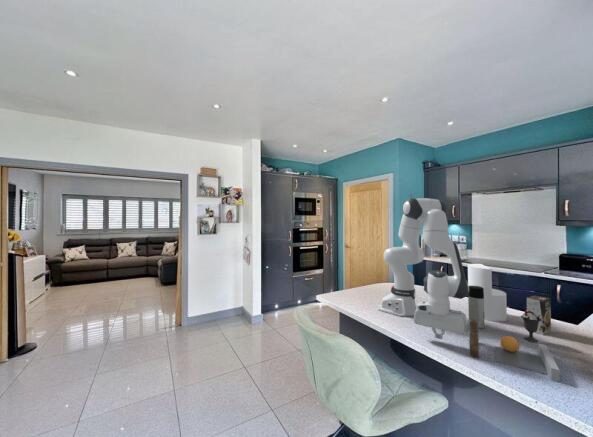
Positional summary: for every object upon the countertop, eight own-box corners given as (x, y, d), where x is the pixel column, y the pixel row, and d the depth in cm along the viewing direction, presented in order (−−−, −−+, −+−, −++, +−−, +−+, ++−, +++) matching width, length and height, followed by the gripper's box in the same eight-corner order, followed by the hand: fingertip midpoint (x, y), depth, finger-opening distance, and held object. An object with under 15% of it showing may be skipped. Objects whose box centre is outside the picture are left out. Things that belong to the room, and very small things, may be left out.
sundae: (517, 337, 115) (516, 304, 115) (530, 336, 116) (529, 304, 116) (531, 344, 109) (531, 310, 109) (545, 343, 109) (545, 309, 109)
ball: (500, 331, 105) (516, 341, 99) (509, 334, 107) (525, 343, 101) (494, 344, 105) (510, 354, 99) (503, 346, 107) (518, 356, 101)
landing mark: (496, 361, 96) (496, 361, 96) (494, 346, 107) (494, 346, 107) (547, 374, 87) (547, 374, 87) (538, 356, 99) (538, 356, 99)
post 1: (470, 342, 110) (469, 322, 110) (470, 339, 113) (469, 320, 113) (478, 344, 109) (478, 324, 109) (478, 341, 111) (477, 321, 111)
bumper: (551, 379, 85) (551, 368, 85) (538, 353, 101) (538, 343, 101) (559, 381, 83) (559, 370, 83) (545, 355, 100) (545, 345, 100)
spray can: (487, 328, 124) (486, 289, 124) (472, 327, 125) (471, 288, 125) (480, 323, 130) (479, 285, 131) (466, 322, 132) (465, 285, 132)
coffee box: (544, 335, 116) (543, 301, 116) (526, 330, 122) (525, 297, 122) (551, 331, 121) (551, 298, 121) (534, 326, 126) (534, 294, 126)
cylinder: (473, 318, 136) (472, 268, 137) (465, 308, 152) (464, 263, 153) (512, 323, 130) (511, 270, 130) (499, 311, 146) (498, 264, 146)
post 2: (469, 356, 99) (469, 334, 99) (469, 353, 102) (469, 331, 102) (478, 358, 98) (478, 336, 98) (478, 355, 100) (478, 333, 100)
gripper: (466, 310, 108) (466, 341, 108) (415, 301, 120) (415, 329, 120) (466, 314, 103) (466, 347, 103) (412, 305, 115) (413, 334, 115)
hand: (438, 338), depth 112 cm, fingers closed
